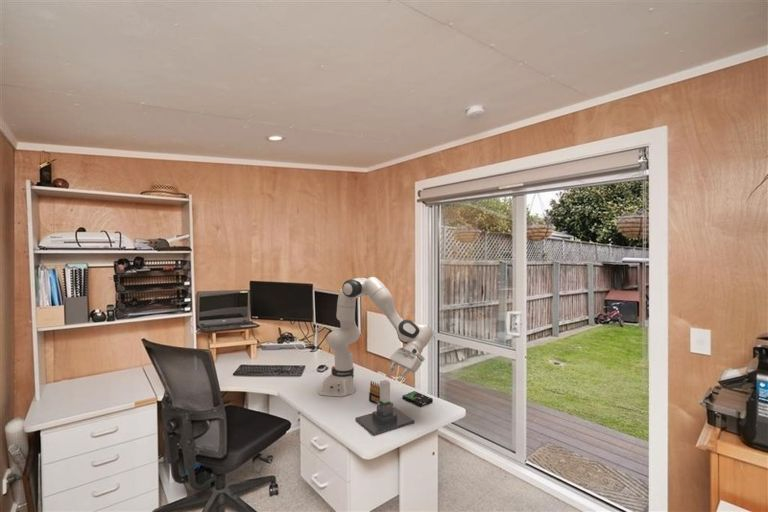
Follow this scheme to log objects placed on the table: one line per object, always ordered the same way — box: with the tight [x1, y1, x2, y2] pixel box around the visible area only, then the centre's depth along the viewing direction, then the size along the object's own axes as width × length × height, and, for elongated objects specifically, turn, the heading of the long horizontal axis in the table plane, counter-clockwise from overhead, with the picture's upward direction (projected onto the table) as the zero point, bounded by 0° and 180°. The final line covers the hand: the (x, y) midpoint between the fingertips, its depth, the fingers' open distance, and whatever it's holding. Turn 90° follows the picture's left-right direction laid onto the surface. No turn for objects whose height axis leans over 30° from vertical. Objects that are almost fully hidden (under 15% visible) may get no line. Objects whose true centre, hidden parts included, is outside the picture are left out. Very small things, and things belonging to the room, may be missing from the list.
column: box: [379, 379, 391, 405], centre depth 189 cm, size 4×4×14 cm
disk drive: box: [402, 390, 434, 408], centre depth 216 cm, size 10×3×15 cm
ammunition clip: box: [368, 380, 380, 405], centre depth 211 cm, size 11×2×12 cm, turn 46°
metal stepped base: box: [354, 401, 415, 437], centre depth 189 cm, size 24×18×10 cm
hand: (396, 373), depth 192 cm, fingers open, 8 cm apart
